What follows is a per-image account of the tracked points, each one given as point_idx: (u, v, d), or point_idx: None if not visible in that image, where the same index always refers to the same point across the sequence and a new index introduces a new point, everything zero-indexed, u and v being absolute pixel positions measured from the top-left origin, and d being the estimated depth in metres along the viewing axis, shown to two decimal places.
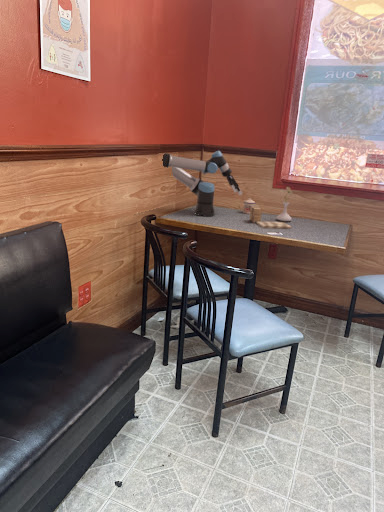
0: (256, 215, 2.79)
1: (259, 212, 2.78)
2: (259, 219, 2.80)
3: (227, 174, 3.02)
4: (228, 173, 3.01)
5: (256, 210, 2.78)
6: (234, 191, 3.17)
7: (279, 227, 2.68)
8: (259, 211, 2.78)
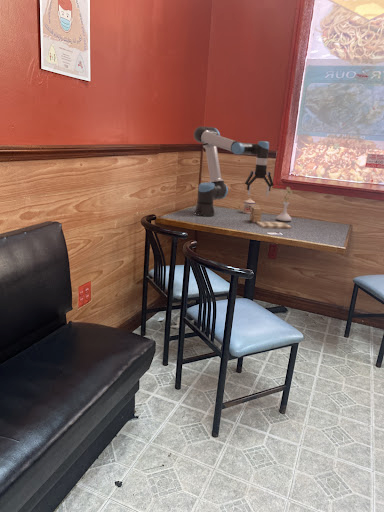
0: (256, 215, 2.79)
1: (259, 212, 2.78)
2: (259, 219, 2.80)
3: (255, 168, 2.75)
4: (256, 168, 2.74)
5: (256, 210, 2.78)
6: (266, 193, 2.82)
7: (279, 227, 2.68)
8: (259, 211, 2.78)
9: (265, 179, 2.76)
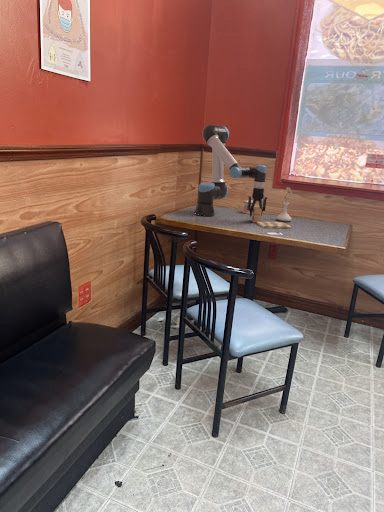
0: (256, 215, 2.79)
1: (259, 212, 2.78)
2: (259, 219, 2.80)
3: None
4: None
5: (256, 210, 2.78)
6: None
7: (279, 227, 2.68)
8: (259, 210, 2.78)
9: (260, 203, 2.80)
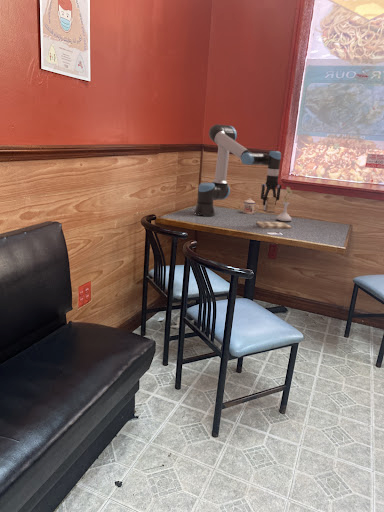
0: (270, 204, 2.64)
1: (273, 201, 2.64)
2: (273, 208, 2.66)
3: None
4: None
5: (270, 199, 2.63)
6: None
7: (279, 227, 2.68)
8: (273, 199, 2.64)
9: (274, 191, 2.66)
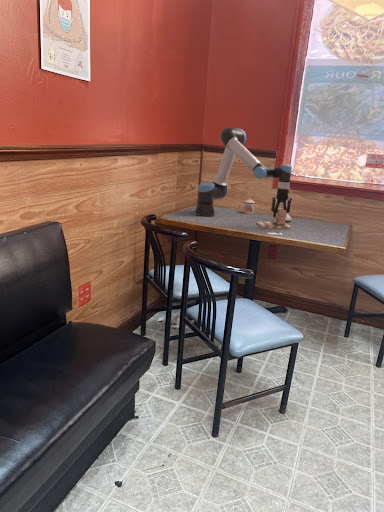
0: (280, 217, 2.68)
1: (283, 213, 2.68)
2: (283, 221, 2.69)
3: None
4: None
5: (280, 211, 2.67)
6: None
7: (279, 227, 2.68)
8: (283, 212, 2.68)
9: (284, 204, 2.69)
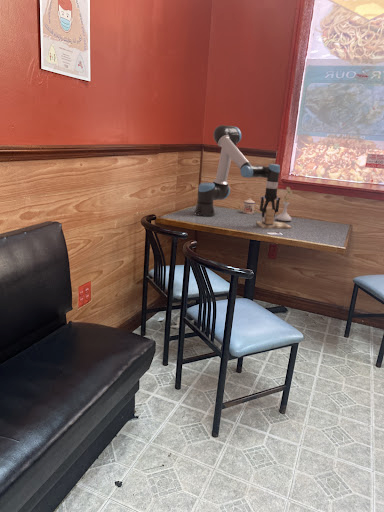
0: (269, 216, 2.67)
1: (272, 213, 2.66)
2: (272, 220, 2.68)
3: None
4: None
5: (269, 211, 2.66)
6: None
7: (279, 227, 2.68)
8: (272, 212, 2.66)
9: (273, 204, 2.68)
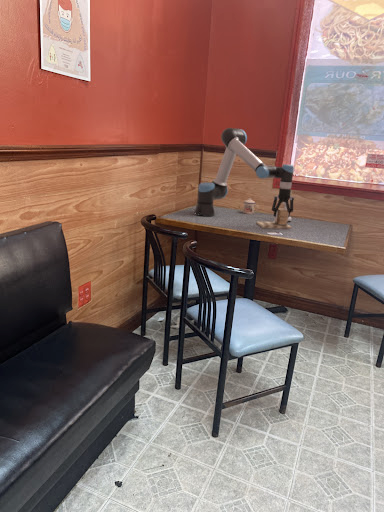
0: (282, 217, 2.69)
1: (285, 214, 2.68)
2: (285, 221, 2.70)
3: None
4: None
5: (282, 212, 2.68)
6: None
7: (279, 227, 2.68)
8: (285, 213, 2.68)
9: (287, 204, 2.70)
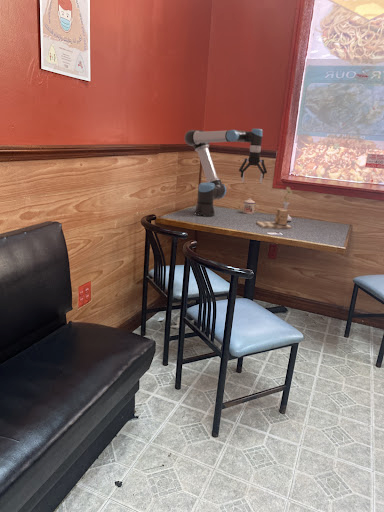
0: (282, 217, 2.69)
1: (285, 214, 2.68)
2: (285, 221, 2.70)
3: (249, 155, 2.79)
4: (249, 155, 2.78)
5: (282, 212, 2.68)
6: None
7: (279, 227, 2.68)
8: (285, 213, 2.68)
9: (258, 166, 2.80)
